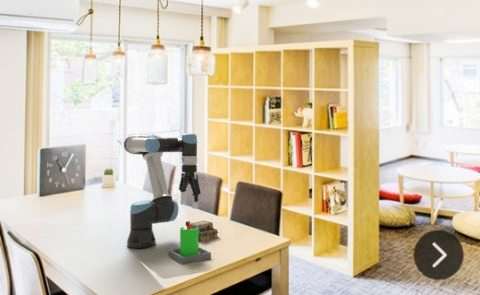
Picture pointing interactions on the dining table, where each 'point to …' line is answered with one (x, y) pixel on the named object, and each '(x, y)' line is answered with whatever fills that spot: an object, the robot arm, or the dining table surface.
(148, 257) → the dining table surface
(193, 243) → the green-shelled ribbed roller
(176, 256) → the tray
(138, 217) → the robot arm
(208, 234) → the miniature house
